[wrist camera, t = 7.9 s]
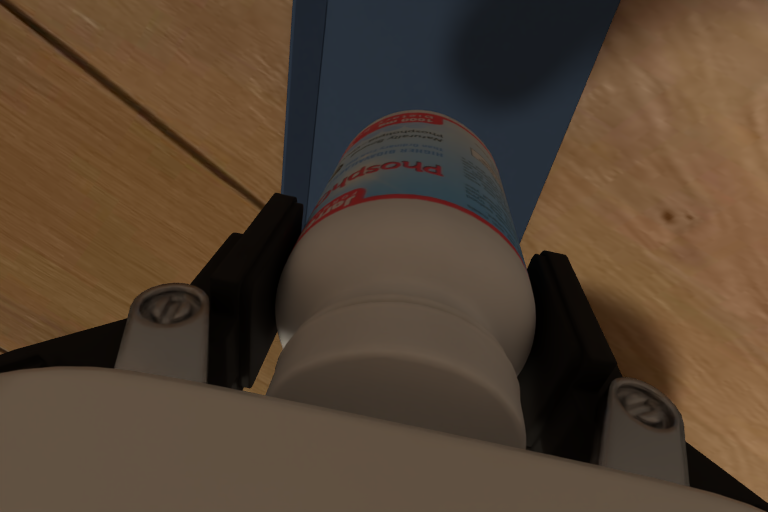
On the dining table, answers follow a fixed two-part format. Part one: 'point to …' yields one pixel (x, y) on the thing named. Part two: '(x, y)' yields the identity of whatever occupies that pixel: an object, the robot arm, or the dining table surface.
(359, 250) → the pill bottle
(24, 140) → the dining table surface
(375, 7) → the book
